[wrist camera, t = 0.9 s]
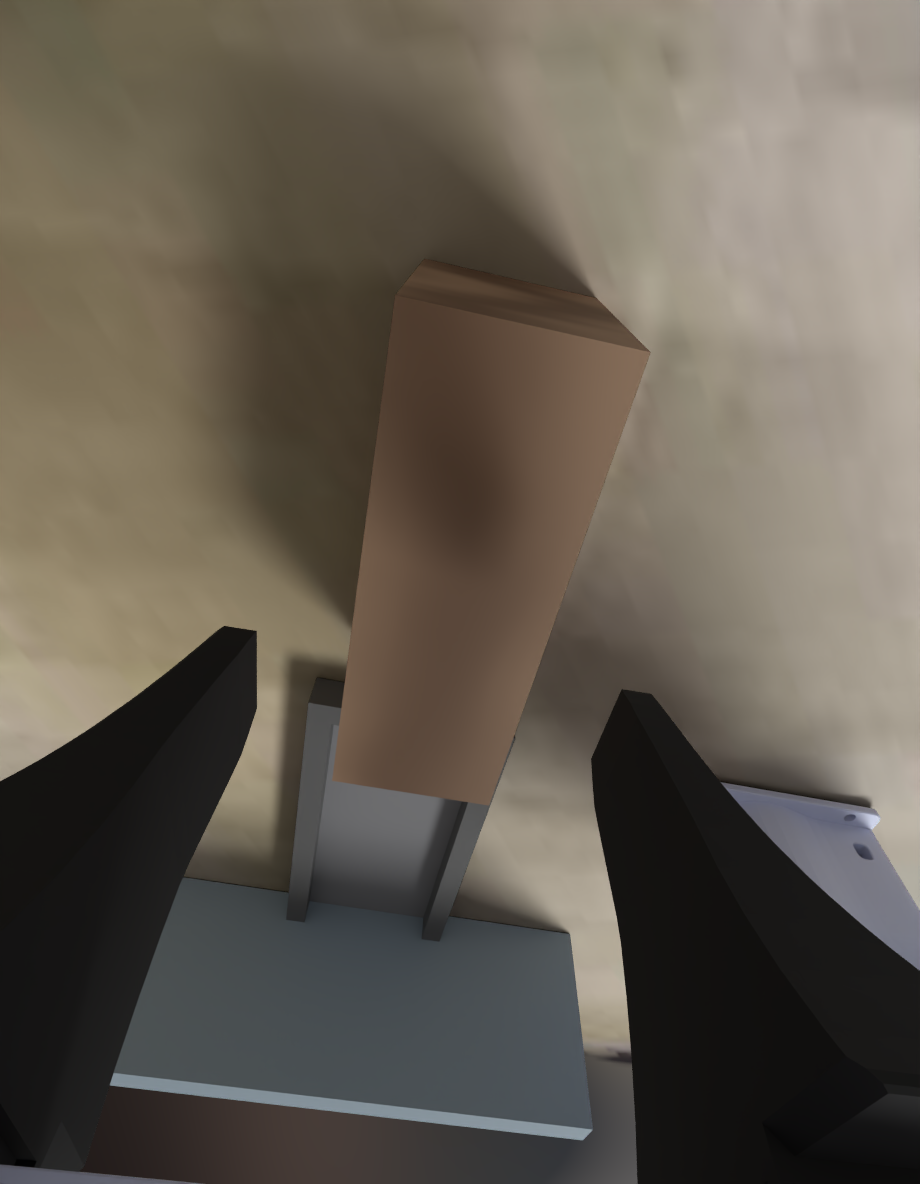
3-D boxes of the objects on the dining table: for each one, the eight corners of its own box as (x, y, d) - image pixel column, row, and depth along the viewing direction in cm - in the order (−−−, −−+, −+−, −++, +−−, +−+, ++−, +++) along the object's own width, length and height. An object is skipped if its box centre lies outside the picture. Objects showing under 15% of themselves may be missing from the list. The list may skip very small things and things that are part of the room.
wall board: (683, 742, 27) (759, 954, 20) (562, 946, 37) (582, 1140, 30) (127, 643, 25) (-24, 838, 18) (154, 887, 35) (64, 1080, 27)
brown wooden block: (595, 297, 18) (650, 352, 12) (487, 662, 25) (489, 805, 20) (424, 258, 17) (395, 295, 12) (367, 641, 25) (332, 780, 19)
